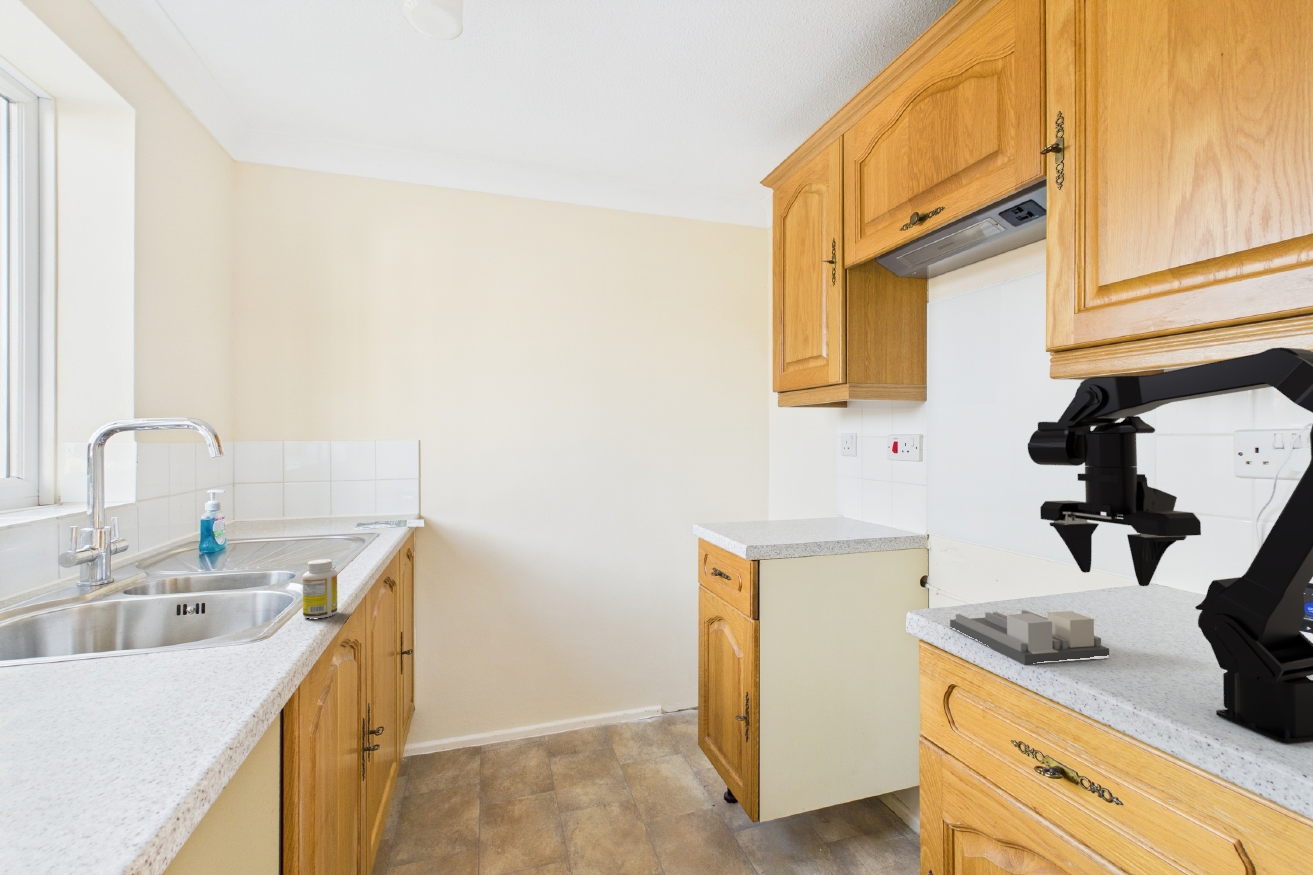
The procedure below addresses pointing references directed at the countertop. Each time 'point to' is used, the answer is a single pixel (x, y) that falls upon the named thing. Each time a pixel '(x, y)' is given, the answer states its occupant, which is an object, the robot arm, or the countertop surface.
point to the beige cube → (1073, 628)
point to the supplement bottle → (320, 589)
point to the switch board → (996, 637)
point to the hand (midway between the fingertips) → (1113, 578)
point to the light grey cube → (1030, 631)
